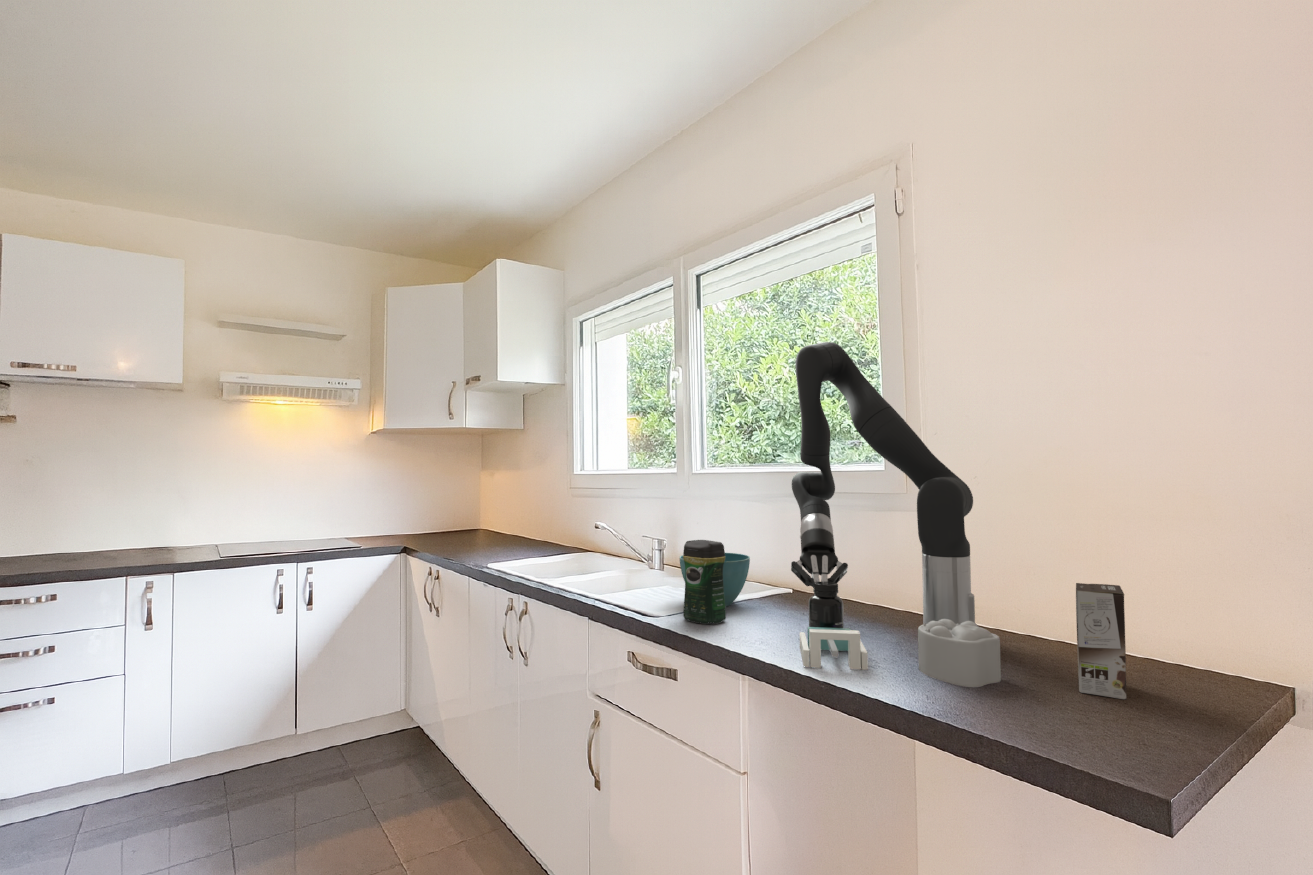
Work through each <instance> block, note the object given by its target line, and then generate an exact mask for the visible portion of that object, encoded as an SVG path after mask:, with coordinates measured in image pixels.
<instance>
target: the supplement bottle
mask: <svg viewBox="0 0 1313 875" xmlns="http://www.w3.org/2000/svg"><path fill="white" fill-rule="evenodd" d="M812 590H813V593H814V592H815V595H814V594H813V595H811V596H810V597H809V599H808V627H821V628H844V601H843V599H842V598H841V597H840V596H839V595H838V593H839V584H838V583H834V582H821V581H819V582H814V588H813V589H812Z"/></svg>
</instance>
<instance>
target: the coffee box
mask: <svg viewBox="0 0 1313 875" xmlns="http://www.w3.org/2000/svg"><path fill="white" fill-rule="evenodd" d="M1075 612H1076V614H1075V615H1076V620H1075V621H1076V645H1077V646H1076V647H1077V650H1076V651H1077V653H1076V654H1077V671H1078V672H1077V674H1078V690H1079V691H1078V692H1080V693H1081V694H1087V695H1094V696H1101V697H1106V698H1107V697H1108V698H1114V699H1120V700H1127V661H1126V660H1127V657H1126V656H1127V654H1126V616H1125V593H1124V591H1123V589H1122V587H1121V586H1120V585H1117V584H1107V583H1106V584H1105V583H1081V582H1076V583H1075Z"/></svg>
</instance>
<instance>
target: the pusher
mask: <svg viewBox="0 0 1313 875" xmlns="http://www.w3.org/2000/svg"><path fill="white" fill-rule="evenodd" d="M809 629H826V630H851V628H849V627H847V628H845V627H843V628H821V627H809V626H808V627H807V643H808V647H809ZM821 651H829V652H830V655H831V657H832V658H839V651H842V652H843V651H845V652H846V651H847V652H848V640H824V639H821Z"/></svg>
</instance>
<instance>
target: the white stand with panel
mask: <svg viewBox="0 0 1313 875" xmlns="http://www.w3.org/2000/svg"><path fill="white" fill-rule="evenodd" d="M821 639H824V640H848V651H847V653H848V655H847V660H848V664H847V665H848V668H849V670H860V671H861V670H862V671H868V670H869V662H868V660H869V659H868V657H869V656H868V655H869V652H868V651H867V649H866V647H865V645H864V643H863V642H862V640H861V632H860V631H859V630H851V629H850V630H826V629H809V647H808V638H807V637H806V632H802V631H799V651H800V654H801V660H802V665H803V666H802V667H804V666H805V667H804V668H811V667H815V668H814V669H821V668H822V655H821V654H822V650H821Z"/></svg>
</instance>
